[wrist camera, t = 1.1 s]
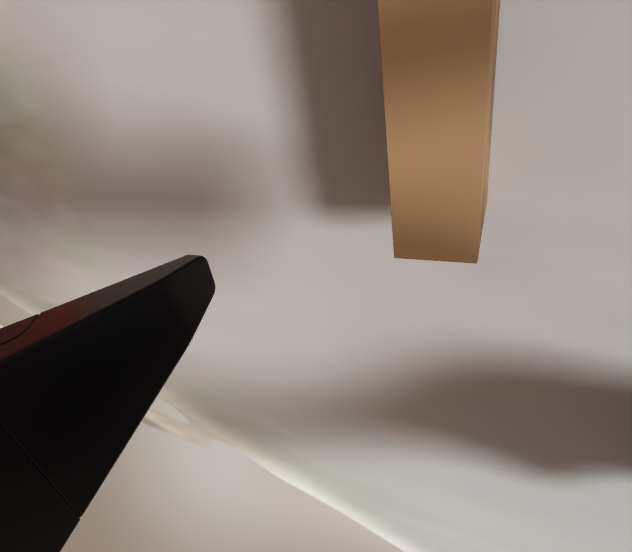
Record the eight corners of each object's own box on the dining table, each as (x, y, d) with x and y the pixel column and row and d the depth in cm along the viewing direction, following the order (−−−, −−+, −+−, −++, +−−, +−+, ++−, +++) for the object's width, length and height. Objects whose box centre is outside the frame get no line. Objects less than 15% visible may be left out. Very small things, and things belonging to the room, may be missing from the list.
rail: (487, 202, 19) (477, 263, 16) (417, 200, 21) (393, 258, 17) (519, -276, 12) (516, -380, 8) (406, -235, 13) (356, -309, 9)
